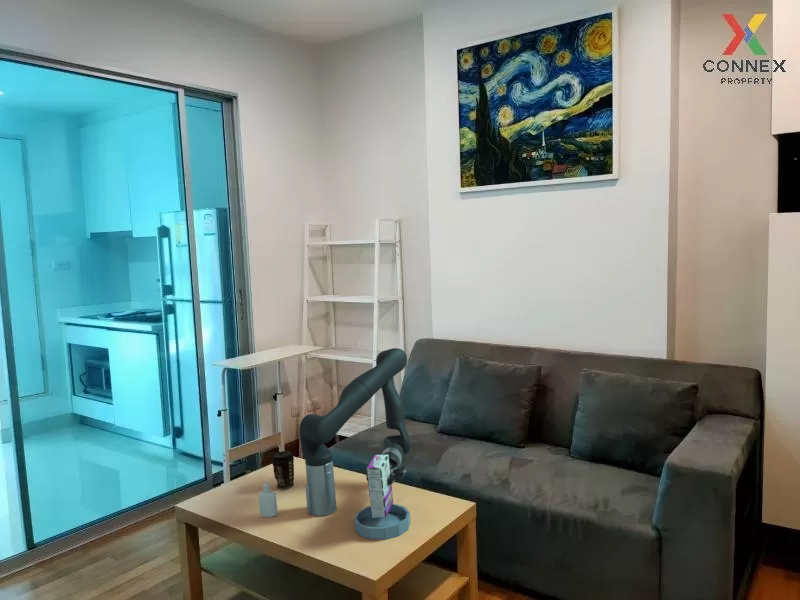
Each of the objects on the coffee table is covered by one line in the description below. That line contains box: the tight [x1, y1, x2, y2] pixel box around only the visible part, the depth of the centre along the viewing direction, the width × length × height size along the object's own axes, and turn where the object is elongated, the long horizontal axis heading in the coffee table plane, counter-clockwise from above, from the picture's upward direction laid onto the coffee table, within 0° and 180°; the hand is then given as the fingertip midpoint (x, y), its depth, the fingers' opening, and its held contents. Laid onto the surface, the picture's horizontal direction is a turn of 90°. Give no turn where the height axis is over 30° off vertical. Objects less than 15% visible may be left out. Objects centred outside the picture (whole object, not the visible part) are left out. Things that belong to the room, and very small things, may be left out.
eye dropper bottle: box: [258, 480, 278, 518], centre depth 199 cm, size 4×6×12 cm
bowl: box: [353, 503, 411, 540], centre depth 186 cm, size 17×17×4 cm
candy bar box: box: [366, 454, 394, 518], centre depth 185 cm, size 11×5×16 cm, turn 169°
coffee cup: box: [270, 450, 295, 491], centre depth 223 cm, size 9×8×13 cm
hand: (380, 482), depth 186 cm, fingers closed on candy bar box, 5 cm apart
